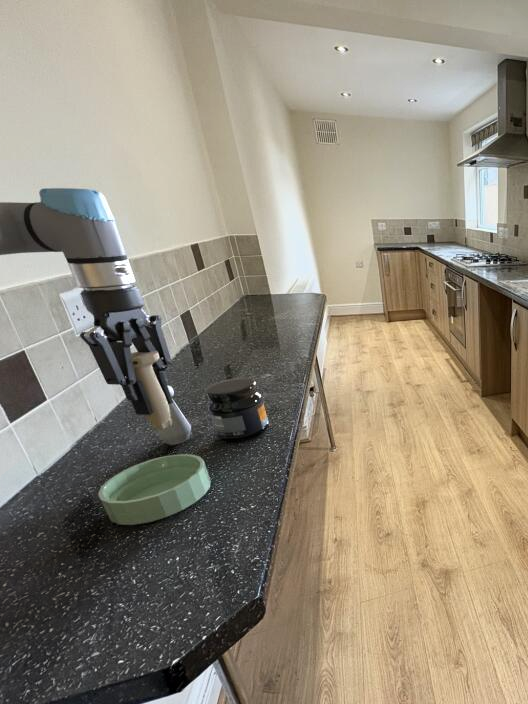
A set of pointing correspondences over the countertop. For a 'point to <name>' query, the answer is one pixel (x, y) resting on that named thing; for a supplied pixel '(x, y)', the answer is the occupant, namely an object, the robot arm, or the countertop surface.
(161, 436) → the salt shaker
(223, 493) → the countertop surface
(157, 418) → the handle
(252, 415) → the supplement container
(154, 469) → the bowl
